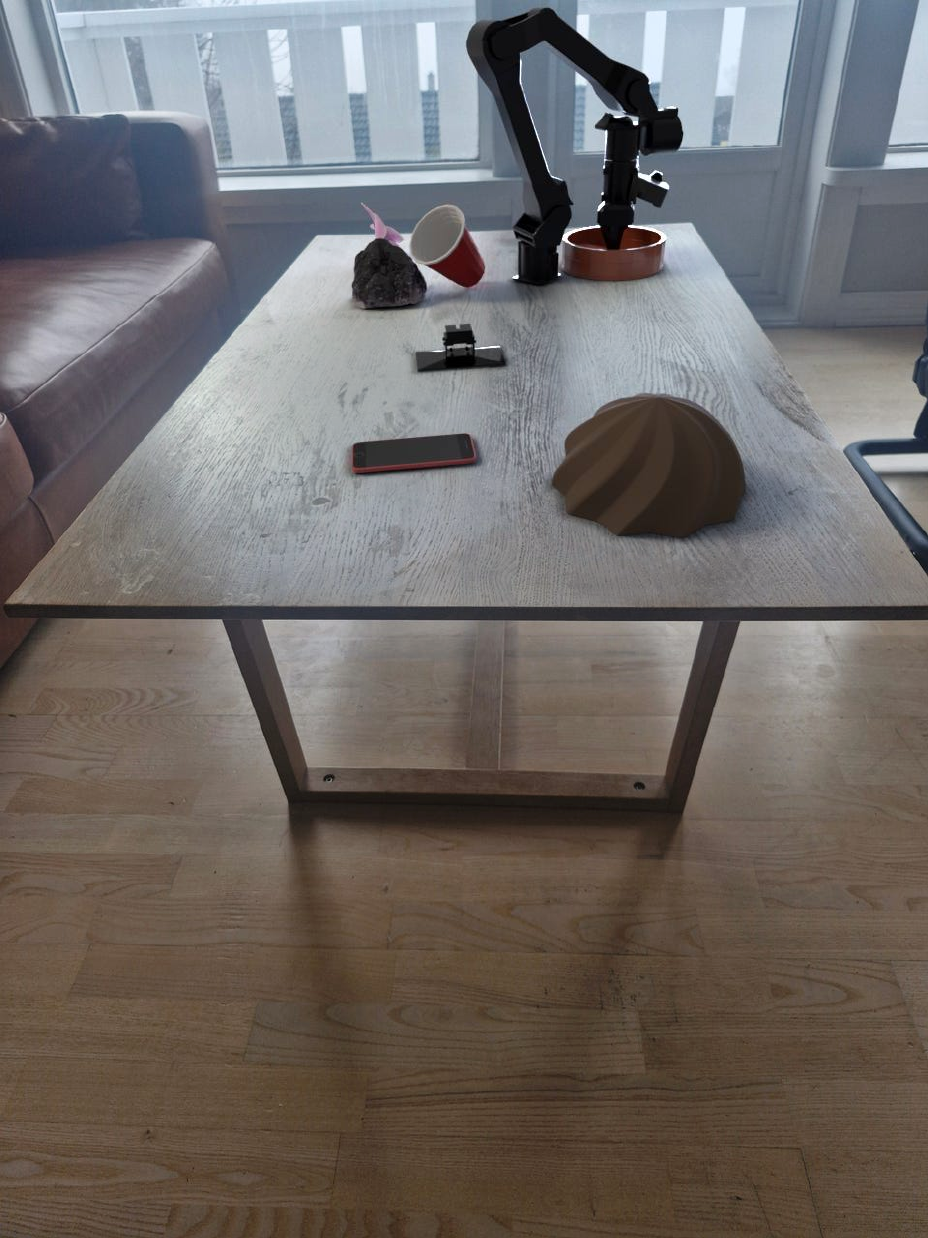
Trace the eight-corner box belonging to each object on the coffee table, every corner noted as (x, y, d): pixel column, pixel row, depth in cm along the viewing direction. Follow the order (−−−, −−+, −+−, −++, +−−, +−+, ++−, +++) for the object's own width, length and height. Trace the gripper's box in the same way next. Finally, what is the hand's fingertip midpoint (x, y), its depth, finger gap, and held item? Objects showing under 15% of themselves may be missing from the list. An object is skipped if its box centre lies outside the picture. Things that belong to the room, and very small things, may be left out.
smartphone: (351, 441, 92) (470, 431, 93) (352, 446, 93) (470, 436, 94) (350, 469, 87) (477, 458, 88) (351, 474, 87) (477, 463, 88)
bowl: (542, 270, 147) (543, 241, 144) (596, 248, 158) (598, 221, 155) (629, 286, 137) (631, 255, 134) (680, 261, 148) (684, 232, 145)
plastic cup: (497, 232, 139) (462, 190, 128) (499, 288, 136) (464, 250, 126) (444, 254, 144) (406, 216, 134) (446, 308, 142) (407, 273, 132)
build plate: (499, 348, 117) (499, 316, 114) (506, 367, 111) (506, 333, 108) (415, 354, 116) (413, 321, 113) (417, 372, 110) (415, 339, 107)
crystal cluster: (407, 318, 131) (409, 253, 125) (333, 305, 134) (332, 241, 128) (437, 300, 141) (439, 239, 135) (367, 289, 144) (367, 229, 139)
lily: (403, 273, 153) (419, 221, 150) (345, 250, 151) (360, 197, 148) (401, 277, 164) (416, 229, 162) (346, 255, 162) (360, 206, 159)
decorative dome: (756, 543, 74) (778, 445, 68) (543, 531, 77) (545, 435, 71) (737, 449, 89) (754, 361, 82) (559, 442, 92) (562, 356, 86)
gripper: (669, 167, 128) (658, 270, 138) (669, 149, 142) (659, 243, 152) (599, 168, 130) (593, 269, 140) (606, 150, 144) (600, 242, 154)
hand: (614, 255), depth 146 cm, fingers closed on popsicle, 6 cm apart
